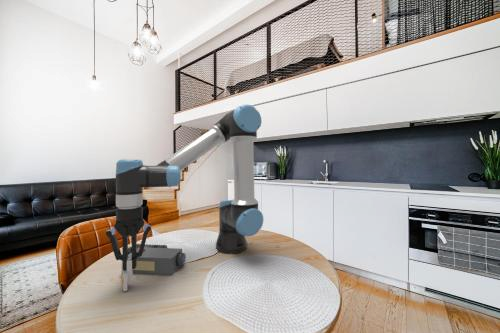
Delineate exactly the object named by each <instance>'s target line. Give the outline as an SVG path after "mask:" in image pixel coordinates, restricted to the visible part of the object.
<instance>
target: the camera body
mask: <svg viewBox="0 0 500 333" xmlns="http://www.w3.org/2000/svg"><path fill="white" fill-rule="evenodd" d="M139 249H140V248H138V249H137V252H139ZM130 257H132V253H130V254H128V258H130ZM186 257H187V256H186V253H185V252H183V248H176V247H175V248H174V247H172V248H171V247H167V248H148V247H144V250H143V253H142V256H140V257H137V258H136V259H137V265H136V268H135V269H133V275H134V274H136V275H137V274H139V275H160V276H173V275H174V274H175V272H177V270H178V269H179V268H180V267H181V268H182V267H184V265H185V262H186Z"/></svg>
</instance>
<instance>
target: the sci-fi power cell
mask: <svg viewBox="0 0 500 333" xmlns="http://www.w3.org/2000/svg"><path fill="white" fill-rule="evenodd" d="M140 245H141V243H137V249H138V248H140ZM144 247H148V248H168V245H167V244H147V243H145V246H144ZM130 253H132V245H131V246H128V254H130Z"/></svg>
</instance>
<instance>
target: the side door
mask: <svg viewBox="0 0 500 333" xmlns="http://www.w3.org/2000/svg"><path fill="white" fill-rule="evenodd" d="M121 276H122V277H120V285H121V286H122V288H123V292H126V291H128V281H127V270H125V271H123V261H122V260H121Z"/></svg>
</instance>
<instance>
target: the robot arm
mask: <svg viewBox="0 0 500 333" xmlns="http://www.w3.org/2000/svg"><path fill="white" fill-rule="evenodd" d="M261 126H262V116H261V114H260V112H259V110H257V107H255V106H253V105H251V104H242V105H239V106H237V107H236V108H234V109H233V110H231V111H229V112H227V113H226V114H225V115H224V116H222V118H220V119H219V120H218V121H217V122H215V123H214V124H213V125H211V128H210V129H209V130H208V131H206V132H205V133H203V134H202V135H200V136H198V137H197V138H196V139H194V140H193V141H191V142H189V143H188V144H186V145H184V147H182V148H180V149H179V150H177V151H176V152H175V153H173V154H172V155H170V156H168V157H167V158H164V160H163V161H161V162H159V163H158V164H156V165H145V164H144V162H143V160H142V159H125V158H124V159H119V160H118V161H117V162H116V164H115V165H116V167H115V207H116V209H115V223H114V224H113V227H112V228H110V229H107V231H106V232H105V235H106V237H107V238H109V241H110V244H111V248H112V251H113V254H114V257H115V260H116V261H121V262H122V261H123V271H125V270H127V282H132V281H133V277H134V274H133V269H135V268H136V265H137V259H136V258H137V257H140V256H142V253H143V250H144V246H145V245H146V242H147V237H148V234H149V233H150V231H151V229H152V225H150V224H147V223H145V221H144V218H143V215H144V214H143V213H144V212H143V211H144V207H143V206H142V205H143V200H144V199H143V198H144V197H143V196H144V195H143V194H144V192H143V190H144V188H146V189H148V188H171V187H178V186H179V185H180V183H181V178H182V177H181V171H183V170H184V169H186V168H187V167H189V166H190V165H192V164H193V163H194V162H195V161H197V160H198V159H200V158H202V157H203V156H204V155H206V154H207V153H208V152H210V151H211V150H213V149H214V148H215V147H217V146H218V145H220V144H225V143H227V141H229V140H230V141H231V142H232V144H233V147H232V148H233V187H234V188H233V189H234V191H233V192H234V195H233V196H234V198H233V199H230V200H229V199H228V200H226V199H225V200H222V201H220V202H219V208H218V209H219V211H218V213H219V214H218V215H219V217H218V218H219V219H218V220H219V221H218V222H219V227H218V228H219V229H218V230H219V232H218V235H217V238H216V242H215V250H216V249H217V250H218V251H217V250H216V251H217V252H219V253H222V254H226V255H227V254H230V255H231V254H239V253H242V252H244V251H245V250H247V248H248V241H247V238H246V237H252V236H255V235H257V233H258V232H259V231H260V230H261V228H262V227H263V224H264V214H263V213H262V212H261V210H260V209H259V201H258V200H257V199H256V198H255V168H254V167H255V162H254V161H255V156H254V153H255V152H254V142H255V141H256V140H257V139H258V132H257V131H258V130H259V129H260V128H261ZM141 229H143V230H142V231H143V235H142V239H141V241H140V244H141V245H140V249H139V252H137V244H138V243H137V242H138V241H137V240H138V238H137V237H138V236H137V235H138V234H139V232H140V231H141ZM117 233H118V234H119V235H120V236H121V237H122V238H121V242H122V243H121V244H122V251H121V248H120V245H119V241H118V238H117ZM129 236H130V237H131V246H132V257H130V258H128V248H129Z"/></svg>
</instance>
